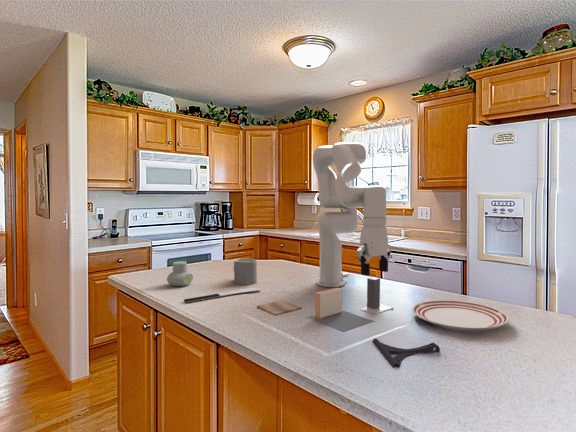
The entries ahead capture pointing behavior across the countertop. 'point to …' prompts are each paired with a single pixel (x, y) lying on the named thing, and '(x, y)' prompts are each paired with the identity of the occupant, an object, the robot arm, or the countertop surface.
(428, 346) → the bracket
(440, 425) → the countertop surface
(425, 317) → the dinner plate
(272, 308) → the board
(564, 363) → the countertop surface
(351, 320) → the mat
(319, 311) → the block
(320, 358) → the countertop surface
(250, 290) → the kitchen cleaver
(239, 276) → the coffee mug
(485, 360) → the countertop surface
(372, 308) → the white base with post
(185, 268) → the air freshener
